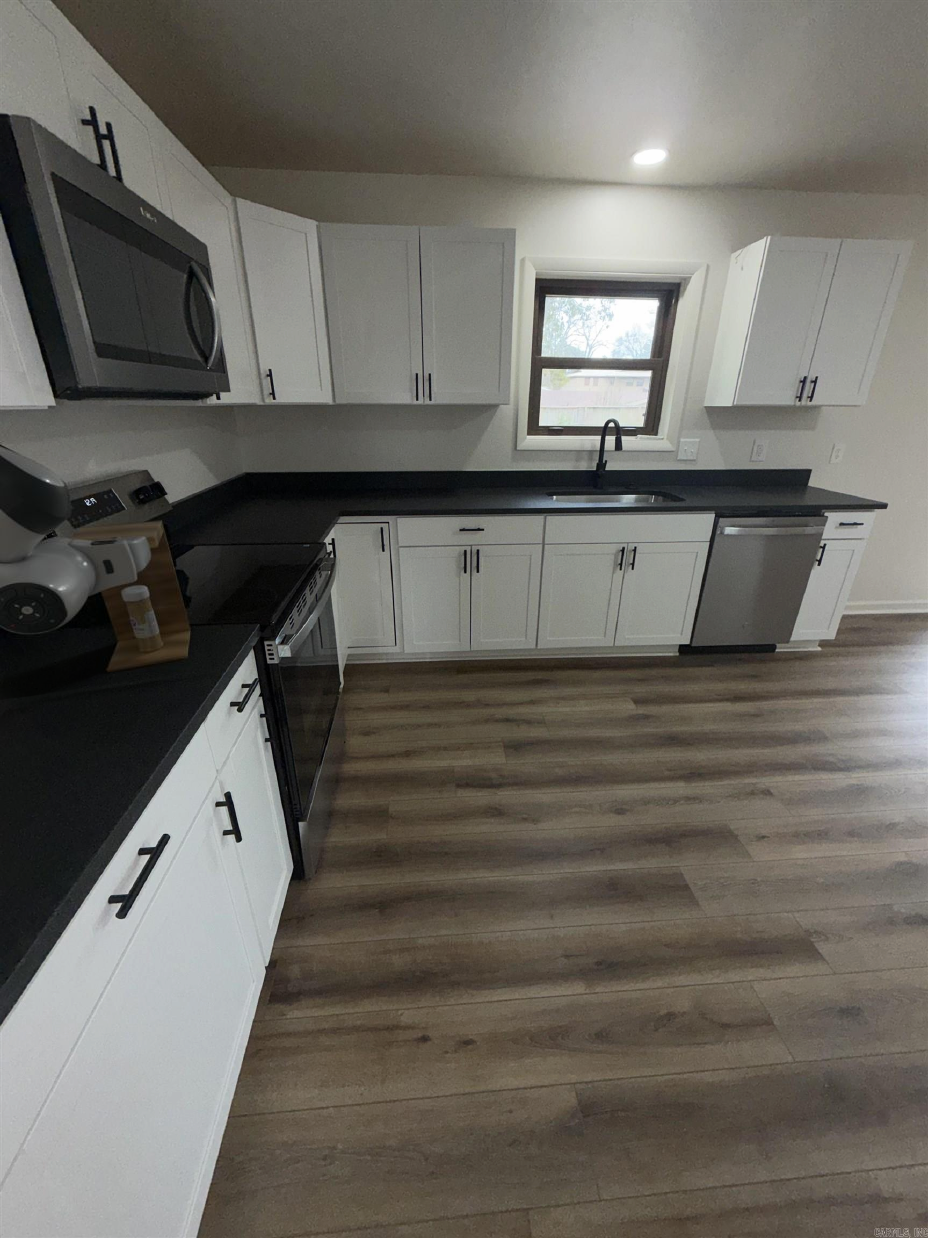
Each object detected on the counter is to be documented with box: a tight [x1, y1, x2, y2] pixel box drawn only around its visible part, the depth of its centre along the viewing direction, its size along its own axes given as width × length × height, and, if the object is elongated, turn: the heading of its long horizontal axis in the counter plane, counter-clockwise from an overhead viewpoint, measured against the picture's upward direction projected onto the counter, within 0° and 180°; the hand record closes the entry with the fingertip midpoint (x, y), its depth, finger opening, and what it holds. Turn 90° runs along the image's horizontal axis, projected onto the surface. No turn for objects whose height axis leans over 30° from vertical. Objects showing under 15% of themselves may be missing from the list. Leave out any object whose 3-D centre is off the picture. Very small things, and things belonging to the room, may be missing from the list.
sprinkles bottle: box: [121, 585, 163, 652], centre depth 102 cm, size 5×5×13 cm
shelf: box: [69, 519, 192, 673], centre depth 100 cm, size 14×14×27 cm
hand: (84, 544), depth 83 cm, fingers open, 8 cm apart
